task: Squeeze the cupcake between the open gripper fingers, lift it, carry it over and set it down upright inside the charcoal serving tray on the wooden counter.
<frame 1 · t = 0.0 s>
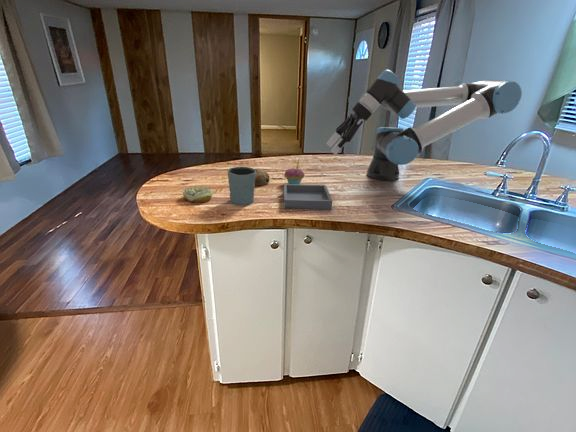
hand: (330, 149, 131), 15 cm above the worktop, tool tilted 35°, fingers open, 13 cm apart
bread roll: (257, 183, 136), on the worktop
cupcake: (293, 185, 134), on the worktop
grey cup: (242, 201, 116), on the worktop
serving tray: (306, 200, 118), on the worktop
decorated donut: (198, 199, 117), on the worktop
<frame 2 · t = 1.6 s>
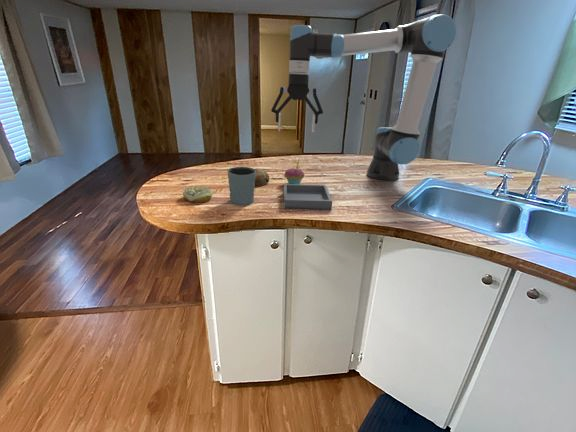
hand: (296, 131, 125), 23 cm above the worktop, tool pointing down, fingers open, 13 cm apart
nothing on the worktop moved.
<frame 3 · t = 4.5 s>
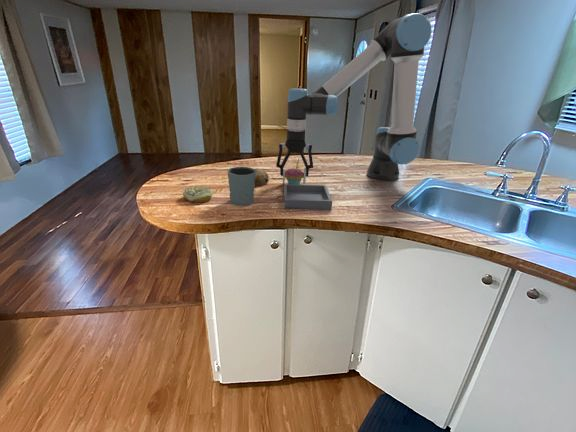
hand: (293, 183, 134), 1 cm above the worktop, tool pointing down, fingers closed on cupcake, 8 cm apart
cupcake: (293, 185, 134), on the worktop, touching gripper
everything else where it was.
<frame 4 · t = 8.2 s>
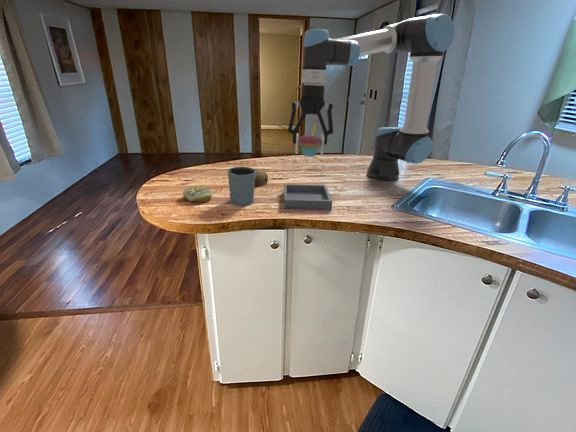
hand: (309, 153, 110), 18 cm above the worktop, tool pointing down, fingers closed on cupcake, 8 cm apart
cupcake: (308, 155, 111), point 17 cm above the worktop, touching gripper
everything else where it was.
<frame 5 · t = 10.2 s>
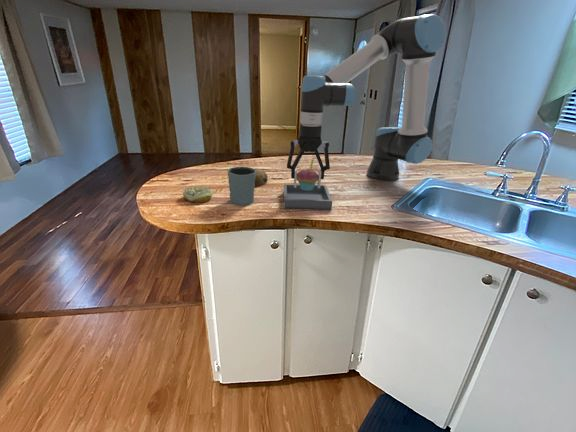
hand: (306, 186, 116), 6 cm above the worktop, tool pointing down, fingers closed on cupcake, 8 cm apart
cupcake: (306, 189, 116), point 5 cm above the worktop, touching gripper
everything else where it was.
when the fingers open (3 cm above the worktop, at t = 11.7 s): cupcake drops 1 cm, resting on serving tray.
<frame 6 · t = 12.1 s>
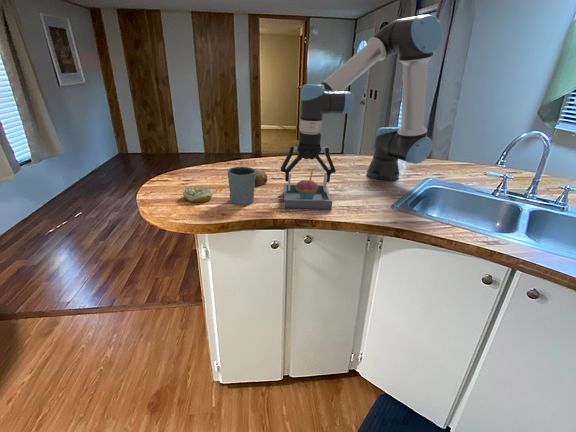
hand: (306, 189, 116), 4 cm above the worktop, tool pointing down, fingers open, 13 cm apart
cupcake: (306, 199, 118), point 1 cm above the worktop, touching serving tray
everything else where it was.
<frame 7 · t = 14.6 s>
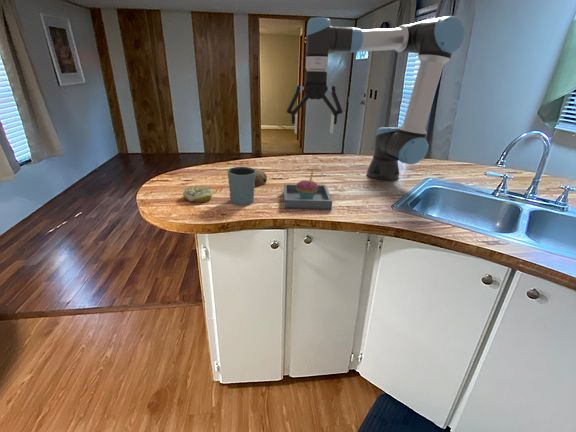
hand: (313, 133, 116), 24 cm above the worktop, tool pointing down, fingers open, 13 cm apart
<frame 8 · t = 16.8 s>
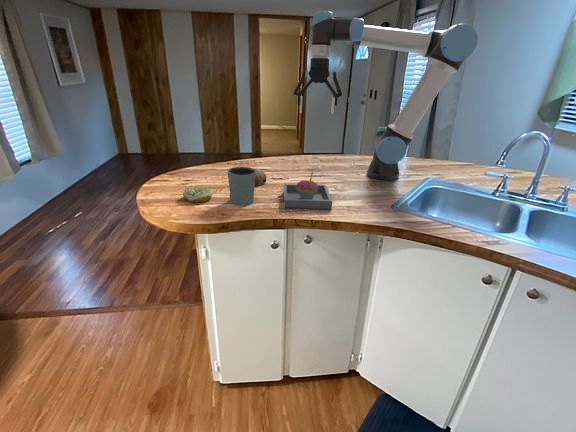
hand: (316, 113, 132), 29 cm above the worktop, tool pointing down, fingers open, 13 cm apart
at the end: cupcake inside the target area on the serving tray (0.1 cm from its centre), point 0.6 cm above the serving tray's base; cupcake tilted 0°; the gripper is holding nothing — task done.
